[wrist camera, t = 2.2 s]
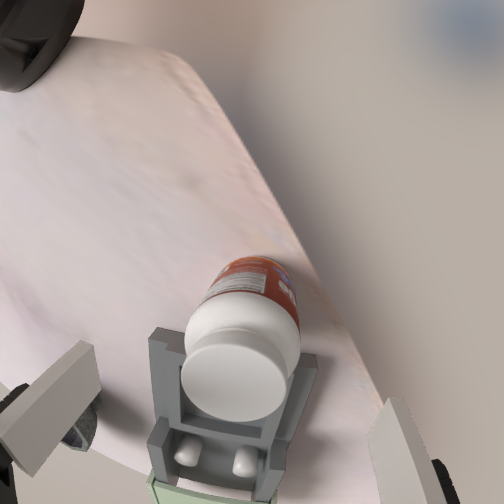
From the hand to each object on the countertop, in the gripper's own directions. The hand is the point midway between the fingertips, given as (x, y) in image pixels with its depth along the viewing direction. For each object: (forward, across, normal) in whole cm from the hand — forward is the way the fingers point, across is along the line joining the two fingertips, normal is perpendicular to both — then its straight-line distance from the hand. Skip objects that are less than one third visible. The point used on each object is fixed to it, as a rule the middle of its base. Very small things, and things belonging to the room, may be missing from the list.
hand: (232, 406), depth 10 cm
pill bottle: (+12, 0, 0) cm, 12 cm away
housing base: (+12, -1, -16) cm, 20 cm away
